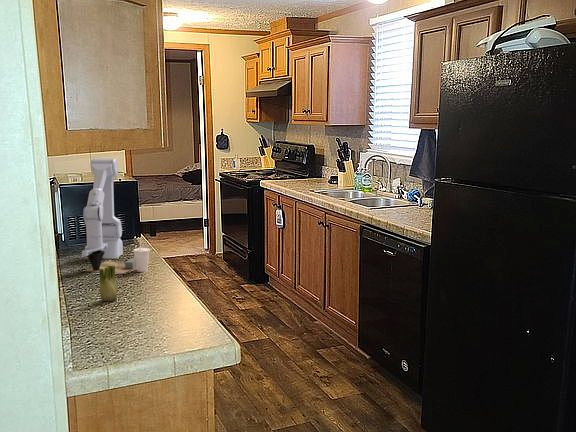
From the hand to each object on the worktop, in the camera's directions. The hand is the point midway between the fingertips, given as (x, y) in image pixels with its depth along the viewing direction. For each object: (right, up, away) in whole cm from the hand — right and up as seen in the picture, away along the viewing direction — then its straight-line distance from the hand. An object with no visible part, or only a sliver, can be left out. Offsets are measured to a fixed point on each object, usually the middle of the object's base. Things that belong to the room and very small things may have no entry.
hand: (96, 269), depth 213 cm
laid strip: (+10, -1, +4) cm, 11 cm away
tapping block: (+12, +1, +6) cm, 14 cm away
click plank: (+2, 0, +6) cm, 6 cm away
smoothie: (+18, -2, +1) cm, 18 cm away
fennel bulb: (+16, -7, -32) cm, 36 cm away
